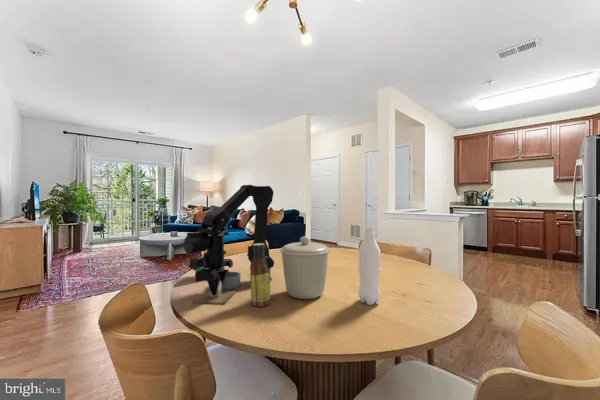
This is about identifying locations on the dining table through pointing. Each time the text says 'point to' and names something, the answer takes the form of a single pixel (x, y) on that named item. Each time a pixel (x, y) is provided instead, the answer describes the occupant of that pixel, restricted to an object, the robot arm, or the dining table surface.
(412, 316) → the dining table surface
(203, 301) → the lid
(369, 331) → the dining table surface
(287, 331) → the dining table surface
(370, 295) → the water bottle
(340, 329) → the dining table surface
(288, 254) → the canister
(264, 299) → the sauce bottle
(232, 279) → the bowl
